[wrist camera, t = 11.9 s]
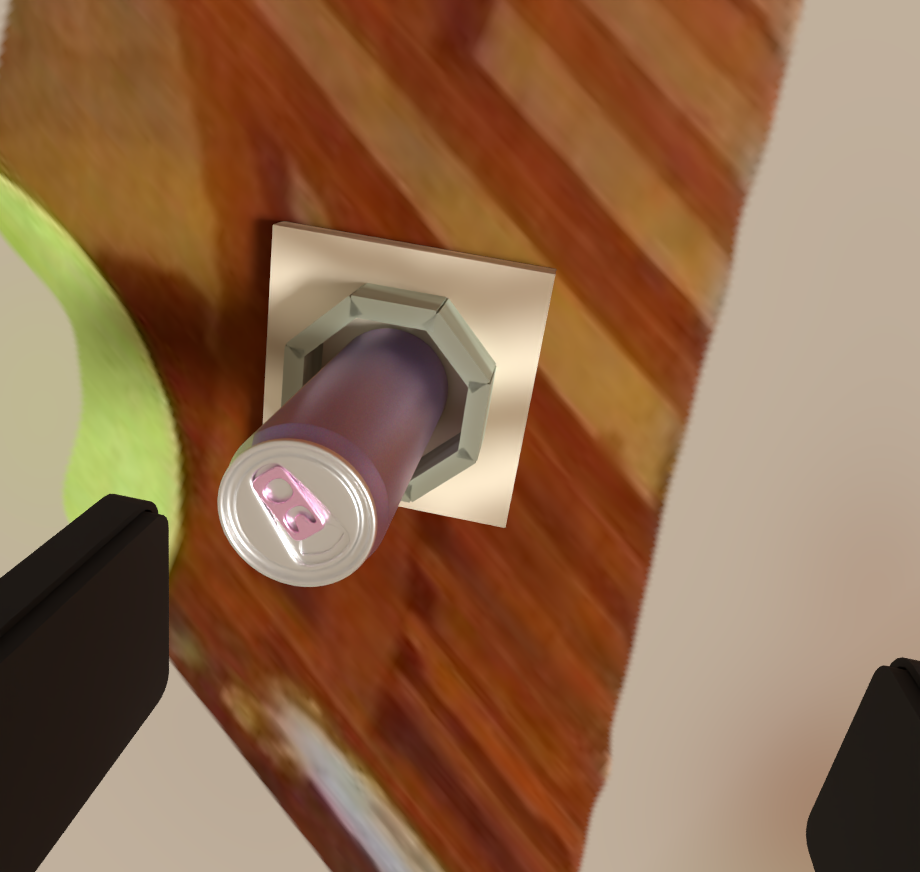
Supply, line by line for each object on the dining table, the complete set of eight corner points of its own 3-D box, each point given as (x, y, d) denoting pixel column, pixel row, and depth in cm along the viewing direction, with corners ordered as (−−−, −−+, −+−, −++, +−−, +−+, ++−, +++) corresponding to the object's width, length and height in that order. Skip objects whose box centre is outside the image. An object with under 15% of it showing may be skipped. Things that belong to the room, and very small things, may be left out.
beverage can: (407, 302, 38) (310, 403, 24) (472, 400, 39) (415, 548, 26) (315, 362, 40) (177, 487, 26) (380, 453, 41) (281, 617, 28)
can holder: (283, 221, 39) (248, 232, 35) (556, 269, 38) (553, 286, 34) (269, 467, 44) (238, 502, 40) (507, 515, 43) (500, 555, 39)
